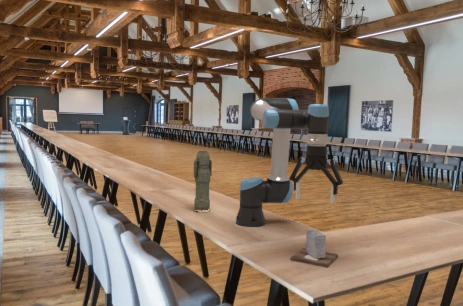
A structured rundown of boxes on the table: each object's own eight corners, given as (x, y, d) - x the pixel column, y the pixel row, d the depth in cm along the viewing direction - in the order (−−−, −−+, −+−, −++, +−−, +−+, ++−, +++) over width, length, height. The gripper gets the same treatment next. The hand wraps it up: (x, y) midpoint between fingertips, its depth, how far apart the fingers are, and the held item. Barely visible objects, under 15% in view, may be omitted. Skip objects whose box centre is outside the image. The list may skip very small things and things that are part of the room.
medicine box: (325, 258, 147) (326, 235, 146) (314, 258, 146) (315, 235, 145) (316, 251, 155) (316, 229, 154) (305, 252, 154) (306, 230, 153)
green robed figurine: (214, 210, 233) (215, 151, 231) (199, 213, 224) (200, 152, 222) (204, 208, 239) (205, 150, 237) (189, 211, 230) (190, 151, 228)
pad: (303, 250, 160) (303, 247, 160) (337, 256, 153) (338, 253, 153) (290, 260, 148) (290, 256, 148) (327, 267, 141) (327, 263, 141)
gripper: (282, 144, 152) (280, 198, 154) (347, 147, 140) (345, 206, 141) (289, 143, 159) (287, 195, 160) (352, 146, 146) (350, 203, 148)
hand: (314, 201), depth 151 cm, fingers open, 13 cm apart
